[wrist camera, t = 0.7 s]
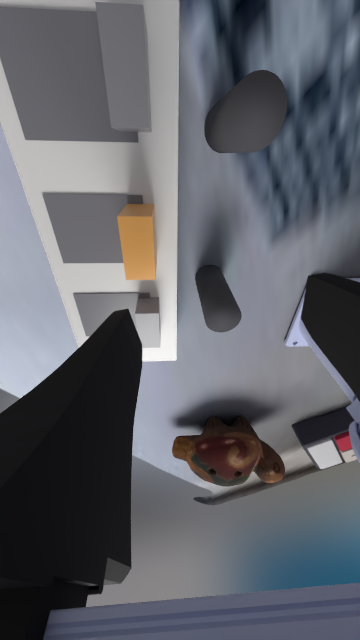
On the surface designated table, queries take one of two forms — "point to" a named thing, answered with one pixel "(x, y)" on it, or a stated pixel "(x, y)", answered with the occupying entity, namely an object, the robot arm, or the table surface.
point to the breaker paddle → (138, 241)
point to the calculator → (327, 438)
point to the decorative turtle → (229, 454)
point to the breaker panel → (97, 148)
